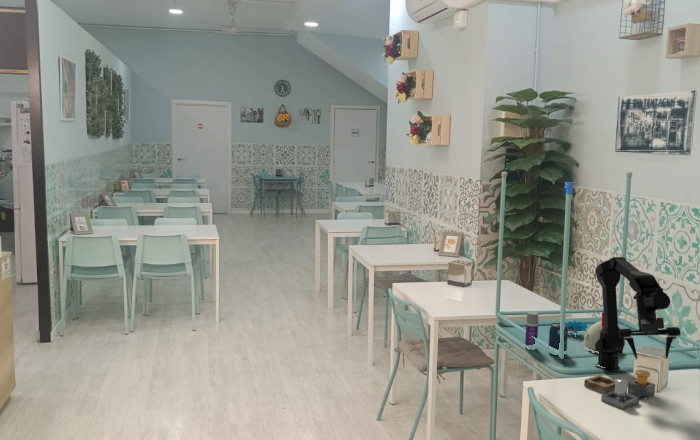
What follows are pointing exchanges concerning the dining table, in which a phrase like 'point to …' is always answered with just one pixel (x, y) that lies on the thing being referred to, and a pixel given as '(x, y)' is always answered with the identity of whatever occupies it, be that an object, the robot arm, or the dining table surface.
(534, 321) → the container
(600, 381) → the brown wooden tray
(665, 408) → the dining table surface
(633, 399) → the socket block
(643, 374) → the plunger
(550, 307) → the dining table surface
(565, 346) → the soda can
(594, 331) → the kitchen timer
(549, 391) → the dining table surface
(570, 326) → the blue irregular lump
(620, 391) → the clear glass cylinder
